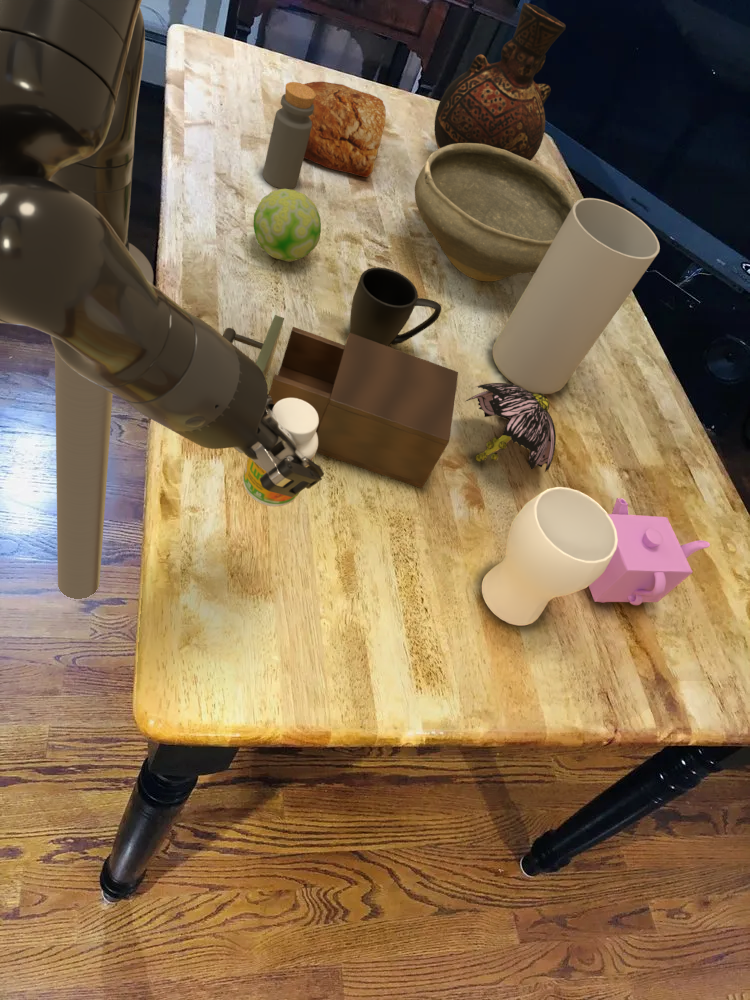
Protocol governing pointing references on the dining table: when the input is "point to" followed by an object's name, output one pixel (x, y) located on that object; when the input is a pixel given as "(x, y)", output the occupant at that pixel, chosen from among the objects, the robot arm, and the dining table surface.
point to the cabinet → (388, 411)
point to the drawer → (298, 364)
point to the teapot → (643, 559)
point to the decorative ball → (287, 224)
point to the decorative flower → (519, 422)
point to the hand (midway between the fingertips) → (298, 452)
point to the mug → (386, 307)
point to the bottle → (289, 136)
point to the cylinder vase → (574, 294)
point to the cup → (549, 554)
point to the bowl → (490, 209)
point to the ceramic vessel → (502, 92)
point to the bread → (345, 128)
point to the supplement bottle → (297, 422)
